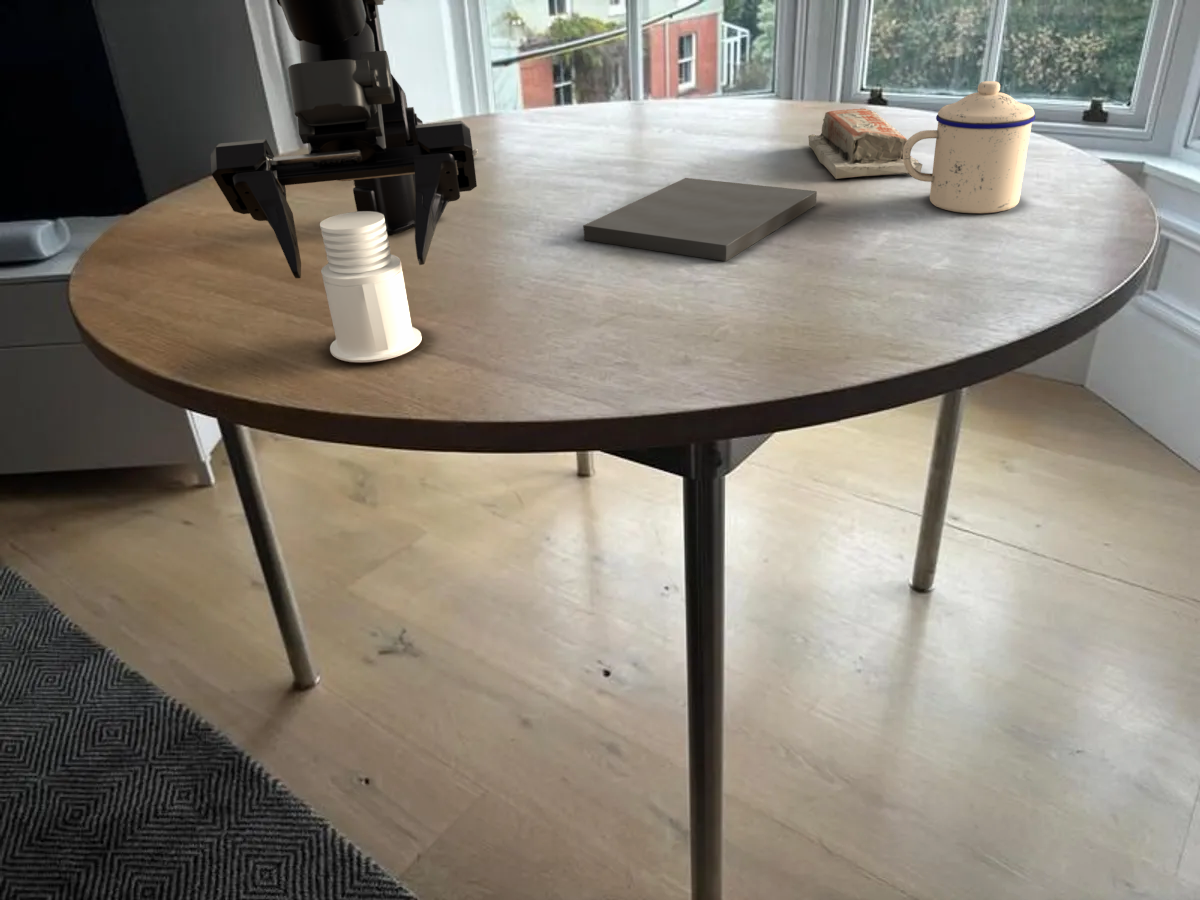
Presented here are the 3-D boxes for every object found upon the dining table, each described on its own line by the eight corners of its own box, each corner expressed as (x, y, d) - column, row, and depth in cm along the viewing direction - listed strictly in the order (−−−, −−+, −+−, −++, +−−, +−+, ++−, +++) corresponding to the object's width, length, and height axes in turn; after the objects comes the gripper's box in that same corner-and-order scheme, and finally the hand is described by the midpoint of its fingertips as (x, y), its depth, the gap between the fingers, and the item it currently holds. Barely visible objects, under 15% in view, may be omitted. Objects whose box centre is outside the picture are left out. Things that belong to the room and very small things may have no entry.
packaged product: (807, 108, 119) (886, 103, 119) (806, 147, 122) (882, 142, 121) (836, 137, 104) (927, 132, 103) (834, 181, 106) (922, 176, 106)
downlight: (325, 337, 75) (297, 214, 70) (412, 321, 77) (391, 200, 72) (337, 375, 68) (308, 242, 63) (431, 356, 70) (410, 226, 65)
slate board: (685, 190, 107) (685, 177, 106) (816, 205, 98) (817, 190, 98) (584, 240, 93) (582, 225, 92) (726, 261, 85) (726, 245, 84)
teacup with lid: (1009, 189, 99) (1027, 72, 93) (1031, 214, 91) (1052, 88, 85) (892, 192, 101) (903, 78, 95) (904, 217, 93) (916, 94, 87)
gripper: (178, 23, 63) (187, 227, 59) (453, 0, 65) (480, 196, 61) (230, 123, 74) (241, 301, 70) (465, 101, 76) (488, 273, 72)
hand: (359, 268), depth 68 cm, fingers open, 9 cm apart
